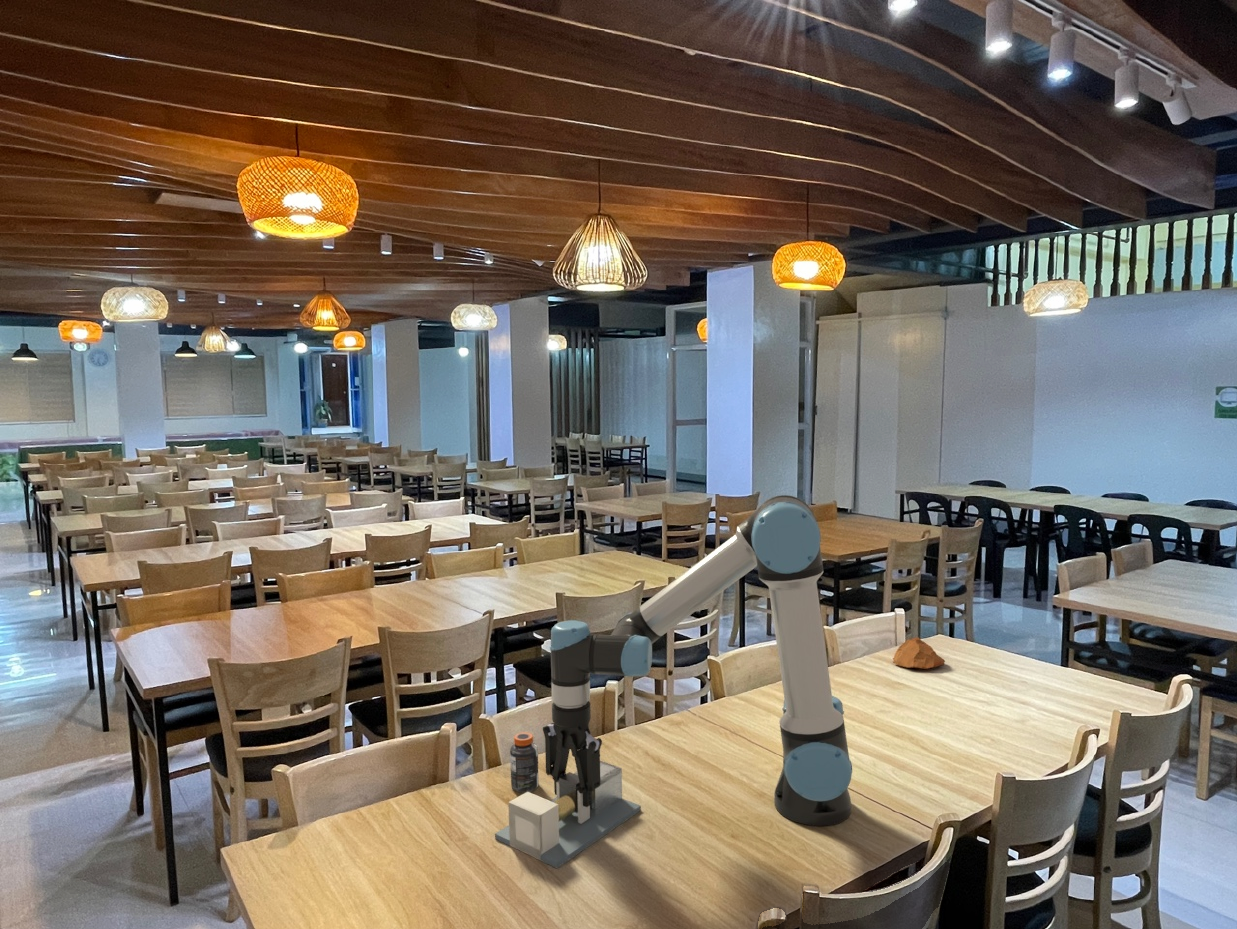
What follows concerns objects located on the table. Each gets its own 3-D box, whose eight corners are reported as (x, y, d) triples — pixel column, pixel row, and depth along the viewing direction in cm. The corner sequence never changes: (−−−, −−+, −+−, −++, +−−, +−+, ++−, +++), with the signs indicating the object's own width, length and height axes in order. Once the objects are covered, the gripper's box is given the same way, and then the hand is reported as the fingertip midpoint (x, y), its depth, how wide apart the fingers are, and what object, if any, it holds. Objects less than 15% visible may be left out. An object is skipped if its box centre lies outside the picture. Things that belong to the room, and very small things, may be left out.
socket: (559, 848, 150) (558, 804, 149) (540, 860, 146) (539, 815, 145) (528, 834, 155) (527, 791, 154) (509, 845, 151) (508, 802, 150)
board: (640, 810, 163) (640, 805, 163) (556, 868, 143) (556, 863, 143) (581, 787, 173) (581, 782, 173) (495, 838, 153) (494, 833, 153)
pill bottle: (543, 782, 175) (542, 732, 174) (531, 795, 170) (530, 743, 169) (518, 778, 177) (517, 728, 176) (506, 791, 172) (504, 739, 171)
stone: (902, 680, 240) (889, 648, 242) (894, 675, 254) (881, 645, 256) (950, 664, 239) (937, 631, 241) (940, 660, 253) (926, 629, 255)
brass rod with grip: (613, 793, 165) (613, 762, 164) (564, 824, 153) (563, 791, 153) (597, 787, 168) (596, 756, 167) (547, 817, 156) (546, 784, 155)
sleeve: (622, 798, 166) (621, 768, 165) (595, 815, 159) (595, 784, 158) (598, 789, 170) (597, 759, 169) (571, 805, 163) (570, 775, 162)
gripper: (619, 706, 154) (620, 822, 156) (550, 686, 165) (553, 794, 167) (593, 718, 148) (595, 839, 150) (524, 697, 159) (527, 809, 161)
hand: (573, 815), depth 159 cm, fingers closed on board, 5 cm apart
